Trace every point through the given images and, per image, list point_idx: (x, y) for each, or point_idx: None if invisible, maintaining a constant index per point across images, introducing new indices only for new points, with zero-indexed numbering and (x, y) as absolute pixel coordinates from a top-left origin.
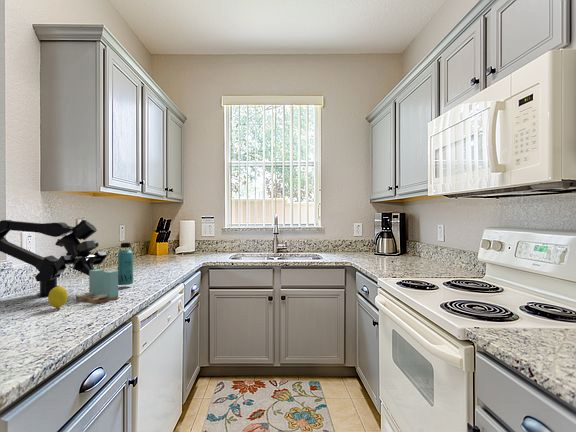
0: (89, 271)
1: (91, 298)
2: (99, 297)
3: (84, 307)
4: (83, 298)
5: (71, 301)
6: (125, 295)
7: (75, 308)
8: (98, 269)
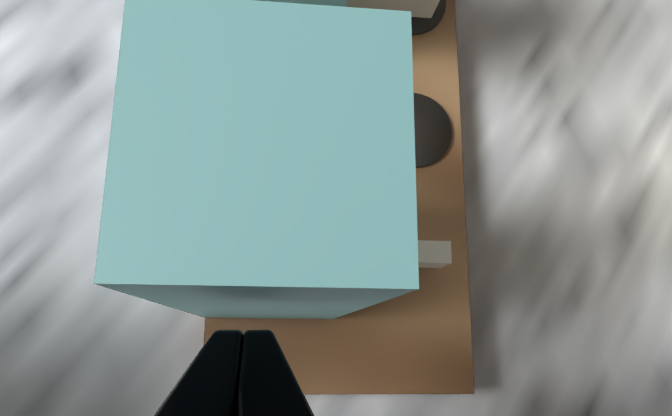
0: (413, 278)
1: (447, 119)
2: (432, 6)
3: (591, 21)
4: (463, 241)
5: (525, 364)
6: (66, 25)
7: (650, 65)
8: (136, 193)
